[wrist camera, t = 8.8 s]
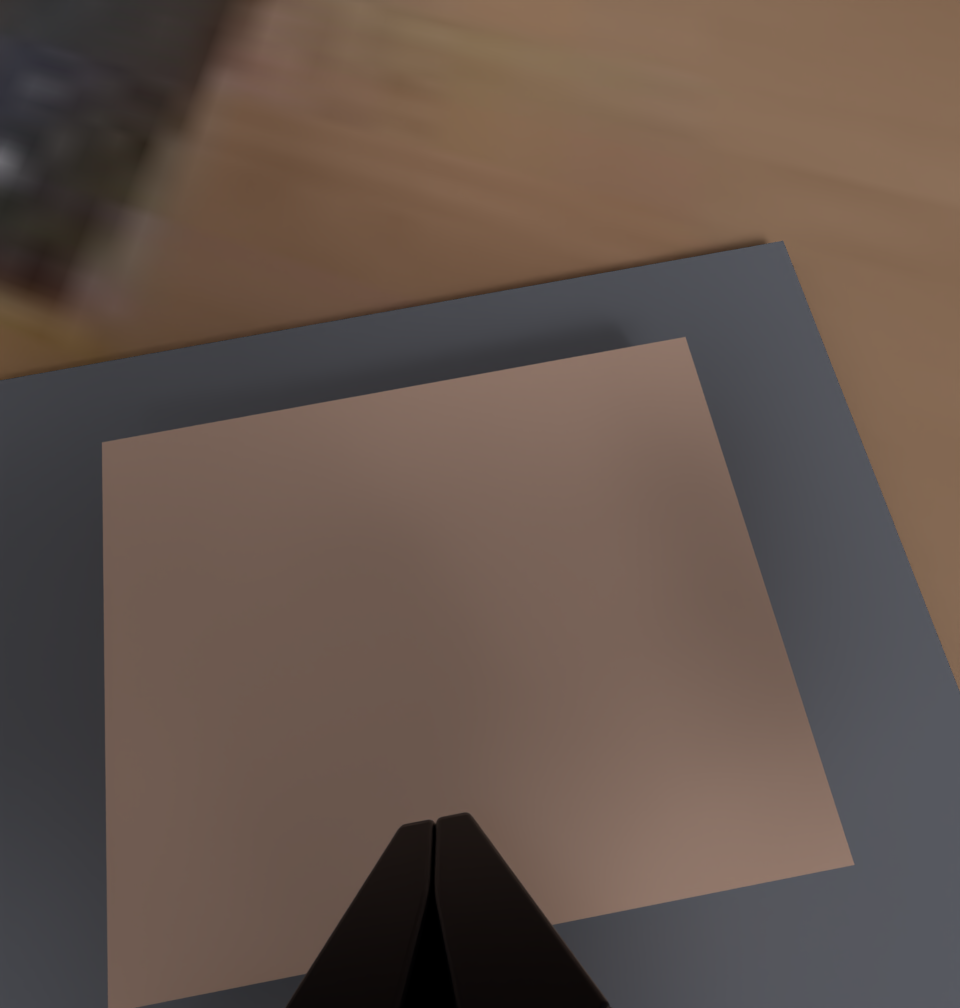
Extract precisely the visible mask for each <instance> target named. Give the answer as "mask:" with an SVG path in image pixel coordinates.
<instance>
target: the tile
mask: <svg viewBox="0 0 960 1008" xmlns="http://www.w3.org/2000/svg"><path fill="white" fill-rule="evenodd" d="M102 493H103V586H104V679H105V771H106V864H107V957H108V1008H136V1007H141V1006H146V1005H151V1004H156V1003H161V1002H166V1001H171V1000H176V999H181V998H186V997H191V996H196V995H202V994H207V993H212V992H217V991H222V990H227V989H232V988H237V987H242V986H247V985H252V984H257V983H262V982H267V981H272V980H277V979H282V978H287V977H292V976H297V975H302V974H306V973H307V972H308V970H309V968H310V967H311V965H312V964H313V962H314V961H315V959H316V957H317V956H318V954H319V953H320V951H321V950H322V948H323V946H324V945H325V943H326V942H327V940H328V939H329V937H330V935H331V934H332V932H333V931H334V929H335V927H336V926H337V924H338V923H339V921H340V920H341V918H342V916H343V915H344V913H345V912H346V910H347V909H348V907H349V905H350V904H351V902H352V901H353V899H354V898H355V896H356V894H357V893H358V891H359V890H360V888H361V887H362V885H363V883H364V882H365V880H366V879H367V877H368V875H369V874H370V872H371V871H372V869H373V868H374V866H375V864H376V863H377V861H378V860H379V858H380V857H381V855H382V853H383V852H384V850H385V849H386V847H387V846H388V844H389V842H390V841H391V839H392V838H393V836H394V834H395V833H396V831H397V830H398V829H399V827H400V826H402V825H403V824H407V823H412V822H417V821H422V820H428V819H431V820H433V821H434V822H435V824H436V821H437V819H438V818H440V817H443V816H448V815H453V814H458V813H463V812H467V813H470V814H471V815H472V816H473V818H474V819H475V820H476V822H477V823H478V824H479V826H480V827H481V829H482V830H483V831H484V833H485V834H486V835H487V837H488V838H489V839H490V841H491V842H492V844H493V845H494V846H495V848H496V849H497V850H498V852H499V853H500V854H501V856H502V857H503V859H504V860H505V861H506V863H507V864H508V865H509V867H510V868H511V869H512V871H513V872H514V874H515V875H516V876H517V878H518V879H519V880H520V882H521V883H522V885H523V886H524V887H525V889H526V890H527V891H528V893H529V894H530V895H531V897H532V898H533V900H534V901H535V902H536V904H537V905H538V906H539V908H540V909H541V910H542V912H543V913H544V915H545V916H546V917H547V919H548V920H549V921H550V923H551V924H552V925H554V924H559V923H564V922H569V921H574V920H579V919H584V918H589V917H594V916H600V915H605V914H610V913H615V912H620V911H625V910H630V909H635V908H640V907H645V906H650V905H655V904H660V903H665V902H670V901H675V900H680V899H685V898H690V897H695V896H700V895H705V894H710V893H715V892H720V891H725V890H730V889H736V888H741V887H746V886H751V885H756V884H761V883H766V882H771V881H776V880H781V879H786V878H791V877H796V876H801V875H806V874H811V873H816V872H821V871H826V870H831V869H836V868H841V867H846V866H851V865H854V862H853V859H852V855H851V852H850V849H849V846H848V843H847V840H846V837H845V834H844V831H843V827H842V824H841V821H840V818H839V815H838V812H837V809H836V806H835V802H834V799H833V796H832V793H831V790H830V787H829V784H828V781H827V777H826V774H825V771H824V768H823V765H822V762H821V759H820V756H819V752H818V749H817V746H816V743H815V740H814V737H813V734H812V731H811V727H810V724H809V721H808V718H807V715H806V712H805V709H804V706H803V702H802V699H801V696H800V693H799V690H798V687H797V684H796V681H795V678H794V674H793V671H792V668H791V665H790V662H789V659H788V656H787V653H786V649H785V646H784V643H783V640H782V637H781V634H780V631H779V628H778V624H777V621H776V618H775V615H774V612H773V609H772V606H771V603H770V599H769V596H768V593H767V590H766V587H765V584H764V581H763V578H762V574H761V571H760V568H759V565H758V562H757V559H756V556H755V553H754V549H753V546H752V543H751V540H750V537H749V534H748V531H747V528H746V524H745V521H744V518H743V515H742V512H741V509H740V506H739V503H738V500H737V496H736V493H735V490H734V487H733V484H732V481H731V478H730V475H729V471H728V468H727V465H726V462H725V459H724V456H723V453H722V450H721V446H720V443H719V440H718V437H717V434H716V431H715V428H714V425H713V421H712V418H711V415H710V412H709V409H708V406H707V403H706V400H705V396H704V393H703V390H702V387H701V384H700V381H699V378H698V375H697V371H696V368H695V365H694V362H693V359H692V356H691V353H690V350H689V346H688V343H687V340H686V337H682V338H677V339H671V340H665V341H660V342H654V343H649V344H643V345H638V346H632V347H627V348H621V349H616V350H610V351H605V352H599V353H594V354H588V355H583V356H577V357H571V358H566V359H560V360H555V361H549V362H544V363H538V364H533V365H527V366H522V367H516V368H511V369H505V370H500V371H494V372H488V373H483V374H477V375H472V376H466V377H461V378H455V379H450V380H444V381H439V382H433V383H428V384H422V385H417V386H411V387H406V388H400V389H394V390H389V391H383V392H378V393H372V394H367V395H361V396H356V397H350V398H345V399H339V400H334V401H328V402H323V403H317V404H311V405H306V406H300V407H295V408H289V409H284V410H278V411H273V412H267V413H262V414H256V415H251V416H245V417H240V418H234V419H229V420H223V421H217V422H212V423H206V424H201V425H195V426H190V427H184V428H179V429H173V430H168V431H162V432H157V433H151V434H146V435H140V436H134V437H129V438H123V439H118V440H112V441H107V442H102Z"/></svg>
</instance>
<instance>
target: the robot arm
mask: <svg viewBox="0 0 960 1008" xmlns="http://www.w3.org/2000/svg"><path fill="white" fill-rule="evenodd" d="M285 1008H613V1007H610V1004H609V1002H608V1001H607V999H606V998H605V997H604V995H603V994H602V992H601V991H600V990H599V988H598V987H597V986H596V984H595V983H594V981H593V980H592V979H591V977H590V976H589V975H588V973H587V972H586V971H585V969H584V968H583V966H582V965H581V964H580V962H579V961H578V960H577V958H576V957H575V956H574V954H573V953H572V951H571V950H570V949H569V947H568V946H567V945H566V943H565V942H564V941H563V939H562V938H561V936H560V935H559V934H558V932H557V931H556V930H555V928H554V927H553V925H552V924H551V923H550V921H549V920H548V919H547V917H546V916H545V915H544V913H543V912H542V910H541V909H540V908H539V906H538V905H537V904H536V902H535V901H534V900H533V898H532V897H531V895H530V894H529V893H528V891H527V890H526V889H525V887H524V886H523V885H522V883H521V882H520V880H519V879H518V878H517V876H516V875H515V874H514V872H513V871H512V869H511V868H510V867H509V865H508V864H507V863H506V861H505V860H504V859H503V857H502V856H501V854H500V853H499V852H498V850H497V849H496V848H495V846H494V845H493V844H492V842H491V841H490V839H489V838H488V837H487V835H486V834H485V833H484V831H483V830H482V829H481V827H480V826H479V824H478V823H477V822H476V820H475V819H474V818H473V816H472V815H471V814H470V813H467V812H463V813H458V814H453V815H448V816H443V817H440V818H438V819H437V821H436V824H435V822H434V821H433V820H431V819H428V820H422V821H417V822H412V823H407V824H403V825H402V826H400V827H399V829H398V830H397V831H396V833H395V834H394V836H393V838H392V839H391V841H390V842H389V844H388V846H387V847H386V849H385V850H384V852H383V853H382V855H381V857H380V858H379V860H378V861H377V863H376V864H375V866H374V868H373V869H372V871H371V872H370V874H369V875H368V877H367V879H366V880H365V882H364V883H363V885H362V887H361V888H360V890H359V891H358V893H357V894H356V896H355V898H354V899H353V901H352V902H351V904H350V905H349V907H348V909H347V910H346V912H345V913H344V915H343V916H342V918H341V920H340V921H339V923H338V924H337V926H336V927H335V929H334V931H333V932H332V934H331V935H330V937H329V939H328V940H327V942H326V943H325V945H324V946H323V948H322V950H321V951H320V953H319V954H318V956H317V957H316V959H315V961H314V962H313V964H312V965H311V967H310V968H309V970H308V972H307V973H306V975H305V976H304V978H303V980H302V981H301V983H300V984H299V986H298V987H297V989H296V991H295V992H294V994H293V995H292V997H291V998H290V1000H289V1002H288V1003H287V1005H286V1006H285Z"/></svg>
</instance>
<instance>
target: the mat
mask: <svg viewBox="0 0 960 1008" xmlns="http://www.w3.org/2000/svg"><path fill="white" fill-rule="evenodd" d="M682 337H686V340H687V343H688V346H689V350H690V353H691V356H692V359H693V362H694V365H695V368H696V371H697V375H698V378H699V381H700V384H701V387H702V390H703V393H704V396H705V400H706V403H707V406H708V409H709V412H710V415H711V418H712V421H713V425H714V428H715V431H716V434H717V437H718V440H719V443H720V446H721V450H722V453H723V456H724V459H725V462H726V465H727V468H728V471H729V475H730V478H731V481H732V484H733V487H734V490H735V493H736V496H737V500H738V503H739V506H740V509H741V512H742V515H743V518H744V521H745V524H746V528H747V531H748V534H749V537H750V540H751V543H752V546H753V549H754V553H755V556H756V559H757V562H758V565H759V568H760V571H761V574H762V578H763V581H764V584H765V587H766V590H767V593H768V596H769V599H770V603H771V606H772V609H773V612H774V615H775V618H776V621H777V624H778V628H779V631H780V634H781V637H782V640H783V643H784V646H785V649H786V653H787V656H788V659H789V662H790V665H791V668H792V671H793V674H794V678H795V681H796V684H797V687H798V690H799V693H800V696H801V699H802V702H803V706H804V709H805V712H806V715H807V718H808V721H809V724H810V727H811V731H812V734H813V737H814V740H815V743H816V746H817V749H818V752H819V756H820V759H821V762H822V765H823V768H824V771H825V774H826V777H827V781H828V784H829V787H830V790H831V793H832V796H833V799H834V802H835V806H836V809H837V812H838V815H839V818H840V821H841V824H842V827H843V831H844V834H845V837H846V840H847V843H848V846H849V849H850V852H851V855H852V859H853V862H854V865H851V866H846V867H841V868H836V869H831V870H826V871H821V872H816V873H811V874H806V875H801V876H796V877H791V878H786V879H781V880H776V881H771V882H766V883H761V884H756V885H751V886H746V887H741V888H736V889H730V890H725V891H720V892H715V893H710V894H705V895H700V896H695V897H690V898H685V899H680V900H675V901H670V902H665V903H660V904H655V905H650V906H645V907H640V908H635V909H630V910H625V911H620V912H615V913H610V914H605V915H600V916H594V917H589V918H584V919H579V920H574V921H569V922H564V923H559V924H554V925H553V927H554V928H555V930H556V931H557V932H558V934H559V935H560V936H561V938H562V939H563V941H564V942H565V943H566V945H567V946H568V947H569V949H570V950H571V951H572V953H573V954H574V956H575V957H576V958H577V960H578V961H579V962H580V964H581V965H582V966H583V968H584V969H585V971H586V972H587V973H588V975H589V976H590V977H591V979H592V980H593V981H594V983H595V984H596V986H597V987H598V988H599V990H600V991H601V992H602V994H603V995H604V997H605V998H606V999H607V1001H608V1002H609V1004H610V1007H613V1008H960V691H959V689H958V686H957V684H956V681H955V679H954V676H953V674H952V671H951V668H950V666H949V663H948V661H947V658H946V656H945V653H944V651H943V648H942V645H941V643H940V640H939V638H938V635H937V633H936V630H935V628H934V625H933V622H932V620H931V617H930V615H929V612H928V610H927V607H926V605H925V602H924V599H923V597H922V594H921V592H920V589H919V587H918V584H917V582H916V579H915V577H914V574H913V571H912V569H911V566H910V564H909V561H908V559H907V556H906V554H905V551H904V548H903V546H902V543H901V541H900V538H899V536H898V533H897V531H896V528H895V525H894V523H893V520H892V518H891V515H890V513H889V510H888V508H887V505H886V503H885V500H884V497H883V495H882V492H881V490H880V487H879V485H878V482H877V480H876V477H875V474H874V472H873V469H872V467H871V464H870V462H869V459H868V457H867V454H866V451H865V449H864V446H863V444H862V441H861V439H860V436H859V434H858V431H857V428H856V426H855V423H854V421H853V418H852V416H851V413H850V411H849V408H848V406H847V403H846V400H845V398H844V395H843V393H842V390H841V388H840V385H839V383H838V380H837V377H836V375H835V372H834V370H833V367H832V365H831V362H830V360H829V357H828V354H827V352H826V349H825V347H824V344H823V342H822V339H821V337H820V334H819V331H818V329H817V326H816V324H815V321H814V319H813V316H812V314H811V311H810V309H809V306H808V303H807V301H806V298H805V296H804V293H803V291H802V288H801V286H800V283H799V280H798V278H797V275H796V273H795V270H794V268H793V265H792V263H791V260H790V257H789V255H788V252H787V250H786V247H785V245H784V242H783V241H780V242H774V243H769V244H763V245H757V246H752V247H746V248H741V249H735V250H729V251H724V252H718V253H713V254H707V255H701V256H696V257H690V258H685V259H679V260H673V261H668V262H662V263H656V264H651V265H645V266H640V267H634V268H628V269H623V270H617V271H612V272H606V273H600V274H595V275H589V276H584V277H578V278H572V279H567V280H561V281H556V282H550V283H544V284H539V285H533V286H528V287H522V288H516V289H511V290H505V291H499V292H494V293H488V294H483V295H477V296H471V297H466V298H460V299H455V300H449V301H443V302H438V303H432V304H427V305H421V306H415V307H410V308H404V309H399V310H393V311H387V312H382V313H376V314H370V315H365V316H359V317H354V318H348V319H342V320H337V321H331V322H326V323H320V324H314V325H309V326H303V327H298V328H292V329H286V330H281V331H275V332H270V333H264V334H258V335H253V336H247V337H241V338H236V339H230V340H225V341H219V342H213V343H208V344H202V345H197V346H191V347H185V348H180V349H174V350H169V351H163V352H157V353H152V354H146V355H141V356H135V357H129V358H124V359H118V360H113V361H107V362H101V363H96V364H90V365H84V366H79V367H73V368H68V369H62V370H56V371H51V372H45V373H40V374H34V375H28V376H23V377H17V378H12V379H6V380H0V1008H108V957H107V864H106V771H105V679H104V586H103V493H102V442H107V441H112V440H118V439H123V438H129V437H134V436H140V435H146V434H151V433H157V432H162V431H168V430H173V429H179V428H184V427H190V426H195V425H201V424H206V423H212V422H217V421H223V420H229V419H234V418H240V417H245V416H251V415H256V414H262V413H267V412H273V411H278V410H284V409H289V408H295V407H300V406H306V405H311V404H317V403H323V402H328V401H334V400H339V399H345V398H350V397H356V396H361V395H367V394H372V393H378V392H383V391H389V390H394V389H400V388H406V387H411V386H417V385H422V384H428V383H433V382H439V381H444V380H450V379H455V378H461V377H466V376H472V375H477V374H483V373H488V372H494V371H500V370H505V369H511V368H516V367H522V366H527V365H533V364H538V363H544V362H549V361H555V360H560V359H566V358H571V357H577V356H583V355H588V354H594V353H599V352H605V351H610V350H616V349H621V348H627V347H632V346H638V345H643V344H649V343H654V342H660V341H665V340H671V339H677V338H682ZM305 975H306V974H302V975H297V976H292V977H287V978H282V979H277V980H272V981H267V982H262V983H257V984H252V985H247V986H242V987H237V988H232V989H227V990H222V991H217V992H212V993H207V994H202V995H196V996H191V997H186V998H181V999H176V1000H171V1001H166V1002H161V1003H156V1004H151V1005H146V1006H141V1007H136V1008H285V1006H286V1005H287V1003H288V1002H289V1000H290V998H291V997H292V995H293V994H294V992H295V991H296V989H297V987H298V986H299V984H300V983H301V981H302V980H303V978H304V976H305Z"/></svg>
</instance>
